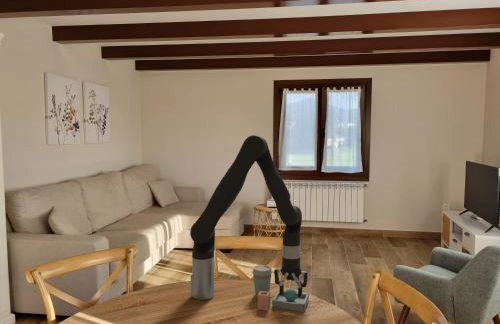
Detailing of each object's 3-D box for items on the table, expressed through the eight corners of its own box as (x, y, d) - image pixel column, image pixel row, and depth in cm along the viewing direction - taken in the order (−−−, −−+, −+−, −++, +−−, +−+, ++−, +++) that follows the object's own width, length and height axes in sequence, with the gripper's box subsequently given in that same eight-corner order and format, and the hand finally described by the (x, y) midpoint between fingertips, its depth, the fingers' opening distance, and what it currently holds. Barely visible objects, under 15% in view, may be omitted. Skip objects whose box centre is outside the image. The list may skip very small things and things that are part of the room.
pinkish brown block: (257, 309, 160) (257, 294, 160) (260, 305, 164) (260, 290, 164) (267, 310, 159) (267, 296, 159) (270, 306, 163) (270, 292, 163)
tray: (272, 307, 162) (272, 300, 162) (278, 296, 173) (278, 290, 172) (304, 311, 158) (304, 304, 158) (308, 300, 169) (308, 294, 169)
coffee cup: (270, 300, 169) (270, 272, 168) (250, 298, 171) (250, 270, 170) (273, 292, 178) (273, 265, 177) (254, 290, 179) (254, 264, 178)
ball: (283, 302, 164) (283, 290, 163) (285, 297, 169) (286, 286, 168) (295, 304, 162) (295, 292, 162) (297, 299, 167) (297, 287, 167)
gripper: (271, 256, 162) (271, 296, 164) (307, 259, 158) (306, 301, 160) (276, 251, 170) (275, 289, 171) (310, 254, 165) (309, 293, 167)
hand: (290, 295), depth 165 cm, fingers open, 6 cm apart
